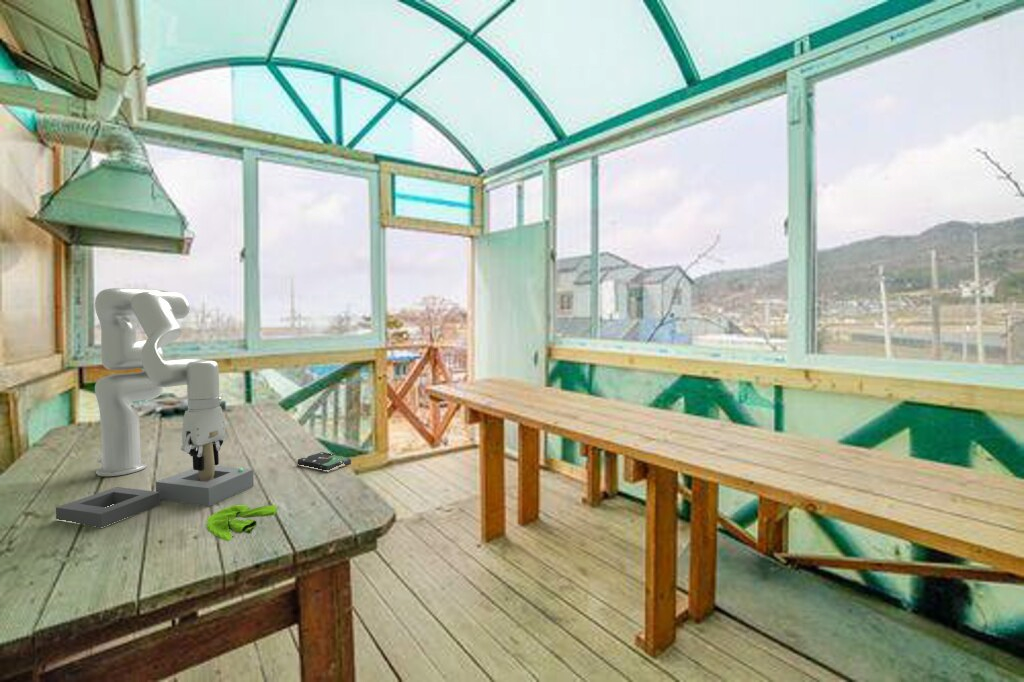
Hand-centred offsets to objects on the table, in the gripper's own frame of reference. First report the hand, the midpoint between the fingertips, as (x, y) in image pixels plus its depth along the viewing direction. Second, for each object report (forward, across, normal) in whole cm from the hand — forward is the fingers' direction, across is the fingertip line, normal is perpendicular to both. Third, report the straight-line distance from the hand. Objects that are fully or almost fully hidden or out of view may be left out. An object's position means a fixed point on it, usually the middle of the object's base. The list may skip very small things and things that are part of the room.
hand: (206, 466), depth 131 cm
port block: (+8, 0, 0) cm, 8 cm away
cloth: (+9, +12, +25) cm, 29 cm away
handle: (+5, 0, 0) cm, 5 cm away
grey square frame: (+8, +17, -12) cm, 22 cm away
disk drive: (+8, -30, +17) cm, 35 cm away
